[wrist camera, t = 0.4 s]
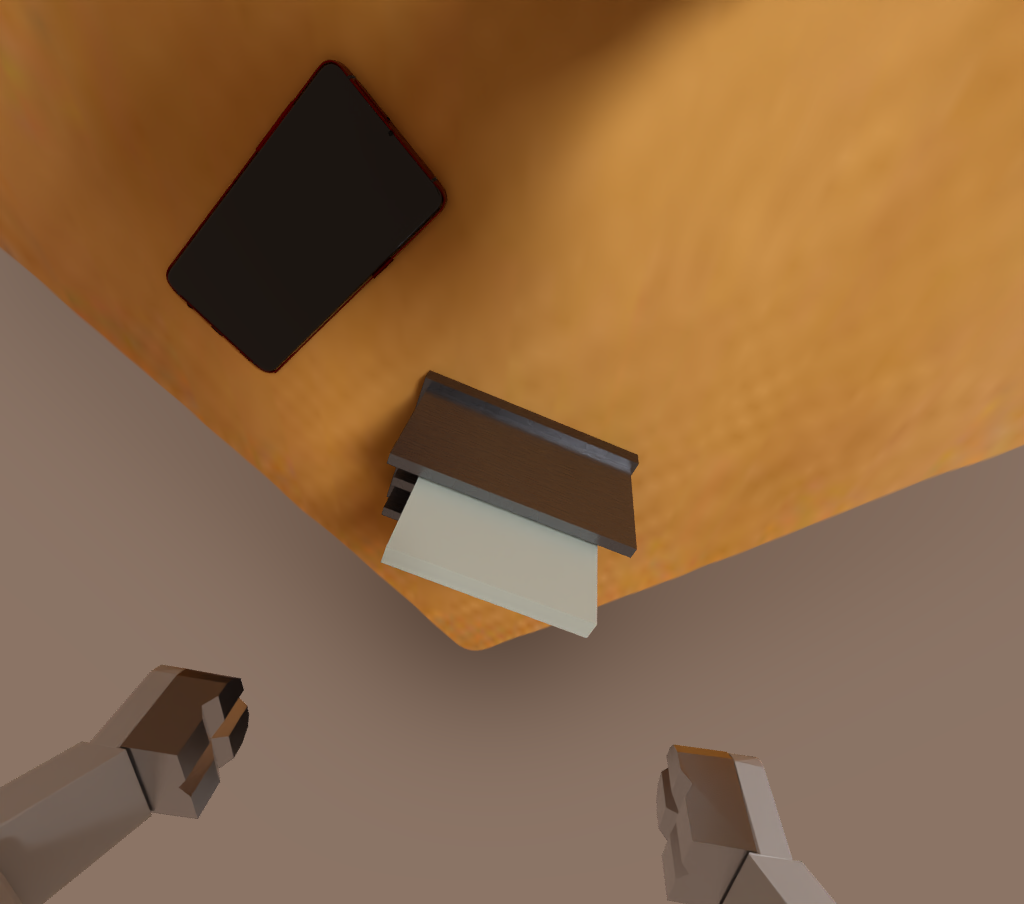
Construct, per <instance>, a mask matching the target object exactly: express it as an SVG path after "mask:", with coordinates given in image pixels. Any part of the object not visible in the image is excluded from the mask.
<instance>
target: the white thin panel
mask: <svg viewBox="0 0 1024 904" xmlns="http://www.w3.org/2000/svg"><path fill="white" fill-rule="evenodd" d="M381 563H384V564H387V565H390V566H392V567H395V568H398V569H400V570H403V571H406V572H409V573H411V574H414V575H417V576H419V577H422V578H425V579H428V580H430V581H433V582H436V583H438V584H441V585H444V586H447V587H449V588H452V589H455V590H457V591H460V592H463V593H466V594H468V595H471V596H474V597H476V598H479V599H482V600H485V601H487V602H490V603H493V604H495V605H498V606H501V607H504V608H506V609H509V610H512V611H514V612H517V613H520V614H523V615H525V616H528V617H531V618H533V619H536V620H539V621H542V622H544V623H547V624H550V625H552V626H555V627H558V628H561V629H563V630H566V631H569V632H572V633H574V634H577V635H580V636H582V637H585V638H587V637H588V636H589V634H590V633H591V632H592V630H593V629H594V628H595V626H596V625H597V545H596V544H594V543H591V542H589V541H586V540H584V539H581V538H578V537H576V536H573V535H571V534H568V533H565V532H563V531H560V530H558V529H555V528H552V527H550V526H547V525H545V524H542V523H540V522H537V521H534V520H532V519H529V518H527V517H524V516H521V515H519V514H516V513H514V512H511V511H509V510H506V509H503V508H501V507H498V506H496V505H493V504H490V503H488V502H485V501H483V500H480V499H478V498H475V497H472V496H470V495H467V494H465V493H462V492H459V491H457V490H454V489H452V488H449V487H447V486H444V485H441V484H439V483H436V482H434V481H431V480H428V479H426V478H423V477H421V476H419V477H418V480H417V482H416V484H415V486H414V488H413V490H412V492H411V495H410V497H409V499H408V501H407V503H406V505H405V507H404V510H403V512H402V514H401V516H400V518H399V520H398V522H397V525H396V527H395V529H394V531H393V533H392V535H391V538H390V540H389V542H388V544H387V546H386V549H385V552H384V555H383V557H382V560H381Z"/></svg>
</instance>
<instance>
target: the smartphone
mask: <svg viewBox="0 0 1024 904" xmlns="http://www.w3.org/2000/svg"><path fill="white" fill-rule="evenodd" d="M331 62H333V63H331ZM446 202H447V195H446V192H445V189H444V188H443V186H442V185H441V183H440V182H439V181H438V179H437V178H436V177H435V176H434V174H433V173H432V172H431V171H430V170H429V168H428V167H427V166H426V165H425V163H424V162H423V161H422V160H421V158H420V157H419V156H418V155H417V153H416V152H415V151H414V150H413V148H412V147H411V146H410V145H409V143H408V142H407V141H406V140H405V139H404V137H403V136H402V135H401V134H400V132H399V131H398V130H397V129H396V127H395V126H394V125H393V124H392V122H391V121H390V119H389V117H387V115H386V114H385V113H384V112H383V111H382V109H381V108H380V107H379V106H378V104H377V103H376V102H375V101H374V99H373V98H372V97H371V96H370V94H369V93H368V92H367V91H366V89H365V88H364V87H363V86H362V84H361V83H360V82H359V81H358V80H357V79H356V78H355V77H354V75H353V74H352V73H351V72H350V71H349V69H348V68H347V67H346V66H345V65H343V64H342V63H340V62H338V61H335V60H327V61H324V62H323V63H322V64H321V65H320V66H319V67H318V68H317V69H316V71H315V72H314V73H313V75H312V76H311V77H310V79H309V80H308V82H307V83H306V84H305V86H304V87H303V88H302V90H301V91H300V92H299V94H298V95H297V96H296V98H295V99H294V100H293V101H292V102H290V104H289V105H288V106H287V108H286V109H285V110H284V112H283V113H282V114H281V116H280V117H279V118H278V120H277V121H276V122H275V124H274V125H273V126H272V128H271V129H270V131H269V132H268V133H267V135H266V136H265V137H264V139H263V140H262V141H261V143H260V144H259V145H258V147H257V148H256V151H255V153H254V154H253V155H252V157H251V158H250V159H249V161H248V162H247V163H246V165H245V166H244V168H243V169H242V170H241V172H240V173H239V174H238V176H237V177H236V178H235V180H234V181H233V182H232V184H231V185H230V186H229V188H228V189H227V190H226V192H225V193H224V194H223V196H222V197H221V198H220V200H219V201H218V202H217V204H216V205H215V206H214V208H213V209H212V210H211V212H210V213H209V214H208V216H207V217H206V218H205V220H204V221H203V222H202V224H201V225H200V226H199V228H198V229H197V230H196V232H195V233H194V234H193V236H192V237H191V238H190V240H189V241H188V242H187V244H186V245H185V246H184V248H183V249H182V250H181V252H180V253H179V254H178V256H177V257H176V258H175V260H174V261H173V262H172V264H171V265H170V266H169V268H168V270H167V273H166V277H167V281H168V283H169V284H170V286H171V287H172V289H173V290H174V291H175V292H176V293H177V294H178V295H179V296H180V297H181V298H182V299H183V300H185V301H186V302H187V305H188V306H189V307H190V308H192V309H194V310H195V311H196V312H198V313H199V314H200V315H201V316H202V317H203V318H204V319H205V320H206V321H207V322H208V323H210V324H211V327H212V328H213V329H214V330H215V331H216V332H218V333H219V334H220V335H221V336H224V337H225V338H226V339H227V340H228V341H229V342H230V343H231V344H232V345H234V346H235V347H236V348H237V349H238V350H239V351H240V353H241V354H242V355H243V356H245V357H247V359H248V360H249V361H251V362H252V363H253V364H254V365H256V366H257V367H258V368H260V369H261V370H263V371H265V372H269V373H273V372H274V373H276V372H277V371H278V370H279V369H280V368H281V367H282V366H283V365H284V364H285V363H287V362H288V361H289V360H290V359H291V358H292V357H293V356H294V355H295V354H296V353H297V352H298V351H299V350H300V349H301V348H302V347H303V346H304V345H305V344H306V343H307V342H308V341H309V340H310V339H311V338H312V337H313V336H314V335H315V334H316V333H317V332H318V331H319V330H320V329H321V328H322V327H323V326H324V325H325V324H326V323H327V322H328V321H329V320H331V319H332V318H333V317H334V316H335V315H336V314H337V313H338V312H339V311H340V310H341V309H342V308H343V307H344V306H345V305H346V304H347V303H348V302H349V301H350V300H351V299H352V298H353V297H354V296H355V295H356V294H357V293H358V292H359V291H360V290H361V289H362V288H363V287H364V286H365V285H366V284H368V283H369V282H370V281H371V280H372V279H373V278H375V277H376V276H378V275H379V274H380V273H381V272H382V271H383V270H384V269H385V268H386V267H387V266H388V265H389V264H390V263H391V262H392V261H393V260H394V259H393V258H394V257H395V256H396V255H397V254H398V253H399V252H400V251H401V250H402V249H403V248H405V247H406V246H407V245H408V244H409V243H410V242H411V241H412V240H413V239H414V238H415V237H416V236H417V235H418V234H419V233H420V232H421V231H422V230H423V229H424V228H425V227H426V226H427V225H428V224H429V223H430V222H431V221H432V220H433V219H434V218H435V217H436V216H437V215H438V214H439V213H440V212H441V211H442V210H443V209H444V207H445V205H446ZM442 205H443V206H442ZM441 206H442V208H441ZM440 208H441V209H440ZM439 209H440V211H439V212H438V213H437V214H436V215H435V216H434V217H433V218H432V219H431V220H430V221H429V222H428V223H427V224H426V225H425V226H424V227H423V228H422V229H421V230H420V231H419V232H418V233H417V234H416V235H415V236H414V237H413V238H412V239H410V240H409V241H408V242H407V243H406V244H405V245H404V246H403V247H402V248H401V249H400V250H399V251H398V252H397V253H396V254H395V255H394V256H393V257H392V258H391V256H392V255H393V254H394V253H395V252H396V251H397V250H398V249H399V248H400V247H401V246H402V245H403V244H404V243H405V242H406V241H407V240H408V239H409V238H410V237H411V236H412V235H413V234H414V233H415V232H416V231H417V230H418V229H419V228H420V227H422V226H423V225H424V224H425V223H426V222H427V221H428V220H429V219H430V218H431V217H432V216H433V215H434V214H435V213H436V212H437V211H438V210H439ZM371 275H372V278H371V279H370V280H369V281H367V282H366V283H365V284H364V285H363V286H362V287H361V288H360V289H359V290H358V291H357V292H356V293H355V294H354V295H353V296H352V297H351V298H350V299H349V300H348V301H347V302H346V303H345V304H344V305H343V306H342V307H341V308H340V309H339V310H338V311H337V312H336V313H335V314H334V315H333V316H332V317H331V318H330V319H329V320H328V321H326V322H325V323H324V324H323V325H322V326H321V327H320V328H319V329H318V330H317V331H316V332H315V333H314V334H313V335H312V336H311V337H310V338H309V339H308V340H307V341H306V342H305V343H304V344H303V345H302V346H301V347H300V348H299V349H298V350H297V351H296V352H294V351H295V350H296V349H297V348H298V347H299V346H300V345H301V344H302V343H303V342H304V341H305V340H306V339H307V338H308V337H309V336H310V335H311V334H312V333H313V332H314V331H315V330H316V329H317V328H318V327H319V326H320V325H321V324H322V323H323V322H324V321H325V320H326V319H327V318H328V317H330V316H331V315H332V314H333V313H334V312H335V311H336V310H337V309H338V308H339V307H340V306H341V305H342V304H343V303H344V302H345V301H346V300H347V299H348V298H349V297H350V296H351V295H352V294H353V293H354V292H355V291H356V290H357V289H358V288H359V287H360V286H361V285H362V284H363V283H364V282H365V281H366V280H367V279H368V278H369V277H370V276H371ZM293 352H294V353H293ZM292 353H293V354H292ZM291 354H292V355H291ZM290 355H291V356H290ZM289 356H290V357H289ZM288 357H289V358H288ZM287 358H288V359H287ZM286 359H287V360H286ZM284 360H286V361H285V362H284V363H283V364H282V365H281V366H280V367H279V368H278V369H276V368H277V367H278V366H279V365H280V364H281V363H282V362H283V361H284ZM274 369H276V370H274Z"/></svg>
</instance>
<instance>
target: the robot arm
mask: <svg viewBox="0 0 1024 904" xmlns="http://www.w3.org/2000/svg"><path fill="white" fill-rule="evenodd" d="M243 691H244V689H243V685H242V682H241V678H236V677H231V676H224V675H219V674H213V673H207V672H202V671H196V670H190V669H186V668H179V667H173V666H166V665H160V666H158V667H157V668H155V669H154V670H152V671H151V672H150V673H149V674H148V675H147V676H146V677H145V679H144V680H143V681H142V682H141V683H140V684H139V686H138V687H137V688H136V689H135V690H134V691H133V692H132V694H131V695H130V696H129V697H128V698H127V699H126V701H125V702H124V703H123V704H122V705H121V706H120V708H119V709H118V710H117V711H116V712H115V713H114V714H113V716H112V717H111V718H110V719H109V720H108V721H107V723H106V724H105V725H104V726H103V727H102V729H101V730H100V731H99V732H98V733H97V734H96V735H95V737H94V738H93V739H92V740H91V741H90V742H89V743H88V742H80V743H78V744H76V745H75V746H73V747H71V748H69V749H67V750H66V751H64V752H62V753H60V754H59V755H57V756H55V757H53V758H51V759H50V760H48V761H46V762H45V763H43V764H41V765H39V766H37V767H36V768H34V769H32V770H30V771H28V772H27V773H25V774H23V775H21V776H20V777H18V778H16V779H14V780H13V781H11V782H9V783H7V784H5V785H4V786H2V787H0V904H43V903H45V902H46V901H47V900H48V899H49V898H51V897H52V896H53V895H54V894H56V893H57V892H58V891H59V890H61V889H62V888H63V887H64V886H65V885H67V884H68V883H69V882H70V881H72V880H73V879H74V878H75V877H77V876H78V875H79V874H80V873H81V872H83V871H84V870H85V869H86V868H88V867H89V866H90V865H91V864H92V863H94V862H95V861H96V860H97V859H99V858H100V857H101V856H102V855H104V854H105V853H106V852H107V851H109V850H110V849H111V848H112V847H114V846H115V845H116V844H117V843H118V842H120V841H121V840H122V839H123V838H124V837H126V836H127V835H128V834H130V833H131V832H132V831H133V830H134V829H136V828H137V827H138V826H139V825H141V824H142V823H143V822H144V821H146V820H147V819H148V818H149V817H151V815H152V814H151V812H152V813H159V814H166V815H174V816H180V817H188V818H195V819H198V818H199V816H200V814H201V813H202V811H203V809H204V808H205V806H206V804H207V803H208V801H209V799H210V798H211V796H212V794H213V793H214V791H215V789H216V787H217V786H218V784H219V783H220V777H219V768H220V767H222V766H223V765H225V764H226V763H227V762H229V761H230V760H232V759H233V758H234V757H235V755H236V753H237V752H238V750H239V748H240V746H241V744H242V743H243V740H244V737H245V734H246V731H247V728H248V720H249V712H248V707H247V705H246V704H245V703H244V702H243V701H242V700H241V699H240V698H239V697H240V695H241V694H242V692H243ZM667 762H668V768H667V769H665V770H664V771H662V772H661V775H660V778H659V782H658V789H657V818H658V827H659V829H660V831H661V832H662V834H663V835H664V837H665V838H666V840H667V844H666V846H665V849H664V852H663V854H662V861H663V869H664V878H665V885H666V894H667V900H669V901H674V902H679V903H685V904H837V903H836V902H835V901H834V900H833V898H831V896H830V895H829V894H828V892H827V891H826V890H825V889H824V888H823V886H822V885H821V884H820V883H819V882H818V880H817V879H816V878H815V877H814V876H813V875H812V873H811V872H810V871H809V870H808V868H807V867H806V866H805V865H804V864H803V862H802V861H798V860H793V859H792V856H791V853H790V850H789V847H788V843H787V840H786V837H785V834H784V831H783V828H782V824H781V821H780V818H779V815H778V811H777V808H776V805H775V802H774V798H773V795H772V792H771V789H770V786H769V783H768V779H767V776H766V773H765V769H764V766H763V764H762V763H761V761H760V760H759V759H758V758H756V757H753V756H745V755H737V754H730V753H727V752H723V751H715V750H709V749H702V748H694V747H687V746H680V745H672V746H671V747H670V749H669V752H668V754H667Z"/></svg>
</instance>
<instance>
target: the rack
mask: <svg viewBox="0 0 1024 904" xmlns="http://www.w3.org/2000/svg"><path fill="white" fill-rule="evenodd" d="M387 464H390V465H392V466H395V467H396V470H395V473H394V476H393V479H392V482H391V485H390V488H389V491H388V494H387V497H389V498H388V500H387V502H386V504H385V506H384V508H383V511H382V515H384V516H387V517H390V518H392V519H395V520H399V518H400V516H401V514H402V512H403V510H404V507H405V505H406V503H407V501H408V499H409V497H410V495H411V492H412V490H413V488H414V486H415V484H416V482H417V480H418V477H419V476H421V477H423V478H426V479H428V480H431V481H434V482H436V483H439V484H441V485H444V486H447V487H449V488H452V489H454V490H457V491H459V492H462V493H465V494H467V495H470V496H472V497H475V498H478V499H480V500H483V501H485V502H488V503H490V504H493V505H496V506H498V507H501V508H503V509H506V510H509V511H511V512H514V513H516V514H519V515H521V516H524V517H527V518H529V519H532V520H534V521H537V522H540V523H542V524H545V525H547V526H550V527H552V528H555V529H558V530H560V531H563V532H565V533H568V534H571V535H573V536H576V537H578V538H581V539H584V540H586V541H589V542H591V543H594V544H596V545H599V546H602V547H604V548H607V549H609V550H612V551H615V552H617V553H620V554H622V555H625V556H627V557H630V558H631V556H632V555H633V554H634V552H635V551H636V550H637V546H636V534H635V521H634V509H633V496H632V484H631V475H632V473H633V472H634V470H635V469H636V467H637V466H638V464H639V462H638V455H637V454H634V453H632V452H629V451H627V450H624V449H622V448H619V447H617V446H614V445H612V444H610V443H607V442H605V441H602V440H600V439H597V438H595V437H592V436H590V435H587V434H585V433H583V432H580V431H578V430H575V429H573V428H570V427H568V426H565V425H563V424H560V423H558V422H556V421H553V420H551V419H548V418H546V417H543V416H541V415H538V414H536V413H533V412H531V411H529V410H526V409H524V408H521V407H519V406H516V405H514V404H511V403H509V402H506V401H504V400H502V399H499V398H497V397H494V396H492V395H489V394H487V393H484V392H482V391H479V390H477V389H474V388H472V387H470V386H467V385H465V384H462V383H460V382H457V381H455V380H452V379H450V378H447V377H445V376H443V375H440V374H438V373H435V372H433V371H429V373H428V374H427V376H426V378H425V381H424V384H423V387H422V390H421V393H420V396H419V399H418V402H417V405H416V408H415V411H414V413H413V414H412V416H411V418H410V419H409V421H408V423H407V425H406V426H405V428H404V430H403V432H402V433H401V435H400V437H399V439H398V440H397V442H396V444H395V446H394V447H393V449H392V451H391V453H390V455H389V458H388V461H387Z"/></svg>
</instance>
